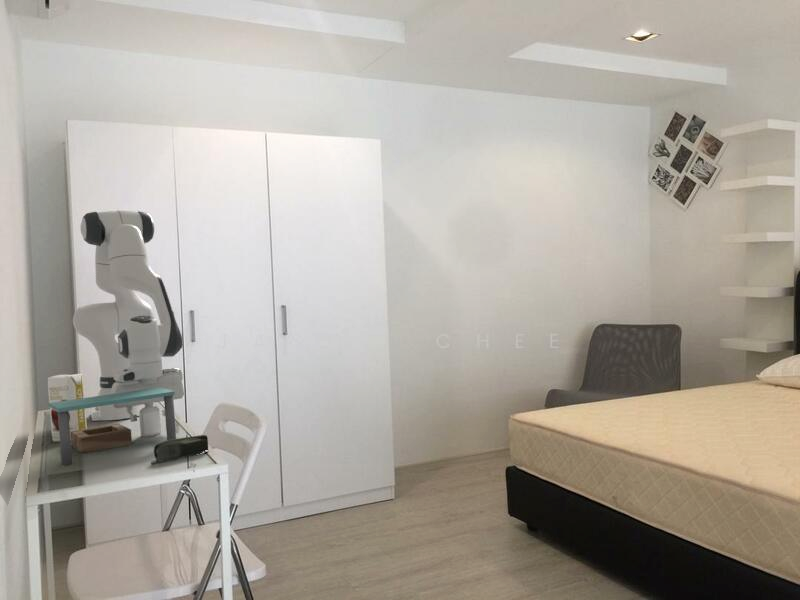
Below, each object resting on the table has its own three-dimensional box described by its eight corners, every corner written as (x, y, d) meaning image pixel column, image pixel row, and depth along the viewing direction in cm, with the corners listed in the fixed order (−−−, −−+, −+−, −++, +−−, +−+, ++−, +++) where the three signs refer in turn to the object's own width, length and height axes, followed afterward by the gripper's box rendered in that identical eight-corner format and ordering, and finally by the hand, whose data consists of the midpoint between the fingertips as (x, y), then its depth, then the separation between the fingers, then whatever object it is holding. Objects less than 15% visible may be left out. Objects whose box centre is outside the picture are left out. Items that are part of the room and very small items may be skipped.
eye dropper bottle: (160, 435, 202) (157, 394, 201) (140, 437, 200) (137, 396, 200) (161, 432, 206) (158, 392, 206) (141, 434, 204) (138, 394, 204)
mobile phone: (204, 433, 180) (147, 443, 170) (209, 434, 178) (151, 445, 168) (205, 452, 180) (148, 463, 170) (210, 453, 178) (152, 465, 168)
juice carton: (65, 436, 208) (60, 373, 208) (91, 435, 207) (86, 372, 206) (48, 442, 201) (43, 377, 200) (75, 442, 199) (70, 376, 199)
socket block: (71, 445, 195) (70, 431, 195) (119, 436, 203) (118, 423, 203) (81, 453, 185) (80, 438, 185) (132, 443, 193) (131, 429, 192)
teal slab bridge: (53, 457, 182) (49, 403, 181) (164, 437, 199) (160, 387, 198) (62, 466, 172) (58, 408, 171) (178, 443, 189) (174, 391, 189)
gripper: (178, 366, 211) (181, 411, 212) (107, 375, 199) (111, 423, 199) (185, 367, 206) (188, 413, 206) (113, 377, 194) (117, 426, 194)
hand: (150, 418), depth 203 cm, fingers open, 8 cm apart
